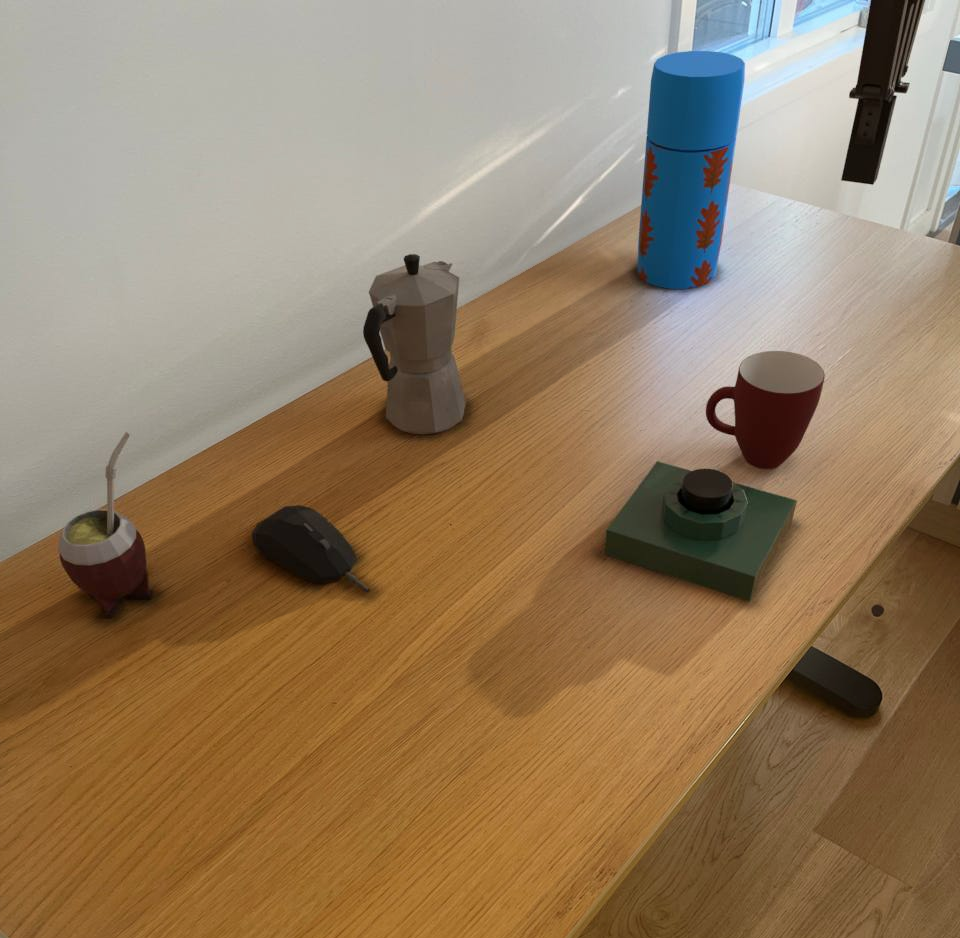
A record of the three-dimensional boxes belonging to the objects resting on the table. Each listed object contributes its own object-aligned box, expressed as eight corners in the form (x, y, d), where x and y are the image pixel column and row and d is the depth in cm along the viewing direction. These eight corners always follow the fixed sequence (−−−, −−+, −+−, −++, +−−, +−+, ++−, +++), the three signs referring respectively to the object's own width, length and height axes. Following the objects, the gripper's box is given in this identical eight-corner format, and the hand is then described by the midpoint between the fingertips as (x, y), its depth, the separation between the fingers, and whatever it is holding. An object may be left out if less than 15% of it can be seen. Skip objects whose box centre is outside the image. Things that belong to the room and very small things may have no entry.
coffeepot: (422, 375, 112) (408, 222, 99) (491, 394, 109) (485, 237, 96) (347, 442, 103) (320, 282, 90) (419, 464, 100) (402, 302, 87)
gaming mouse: (343, 610, 84) (336, 577, 82) (240, 543, 92) (231, 510, 89) (393, 574, 88) (388, 541, 85) (290, 512, 95) (283, 479, 92)
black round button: (736, 494, 86) (739, 476, 85) (719, 521, 84) (722, 503, 82) (690, 481, 88) (693, 463, 87) (673, 507, 85) (675, 489, 84)
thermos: (622, 263, 131) (636, 58, 113) (691, 248, 133) (715, 45, 115) (660, 296, 124) (681, 82, 106) (732, 280, 126) (764, 68, 108)
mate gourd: (69, 618, 85) (2, 483, 74) (105, 561, 91) (47, 427, 80) (147, 624, 84) (90, 488, 73) (179, 566, 90) (130, 431, 79)
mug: (698, 476, 96) (711, 389, 89) (700, 432, 102) (713, 346, 94) (805, 484, 94) (827, 396, 87) (802, 439, 100) (822, 353, 93)
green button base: (791, 525, 90) (801, 482, 87) (749, 602, 83) (759, 559, 79) (654, 485, 95) (658, 443, 92) (604, 554, 88) (607, 512, 85)
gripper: (982, -166, 60) (886, 214, 77) (1013, -190, 68) (919, 159, 84) (861, -166, 63) (794, 200, 79) (904, -190, 70) (835, 149, 87)
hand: (859, 179), depth 82 cm, fingers closed
